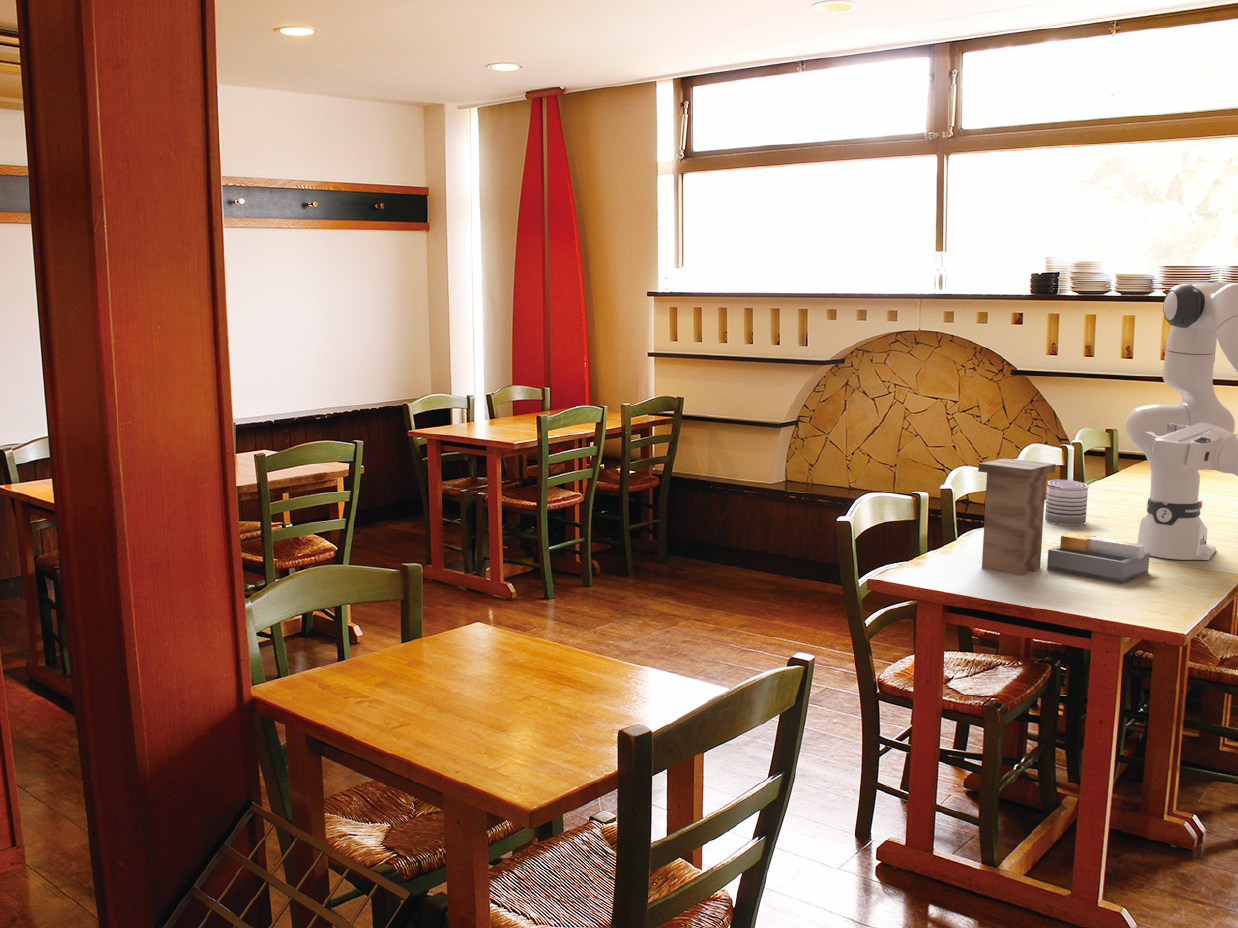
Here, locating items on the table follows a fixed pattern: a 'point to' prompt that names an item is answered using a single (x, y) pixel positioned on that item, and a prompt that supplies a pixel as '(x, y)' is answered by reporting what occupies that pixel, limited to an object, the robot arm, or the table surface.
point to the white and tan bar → (1101, 545)
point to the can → (1066, 502)
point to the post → (1014, 514)
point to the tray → (1097, 565)
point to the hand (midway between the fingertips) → (1157, 430)
